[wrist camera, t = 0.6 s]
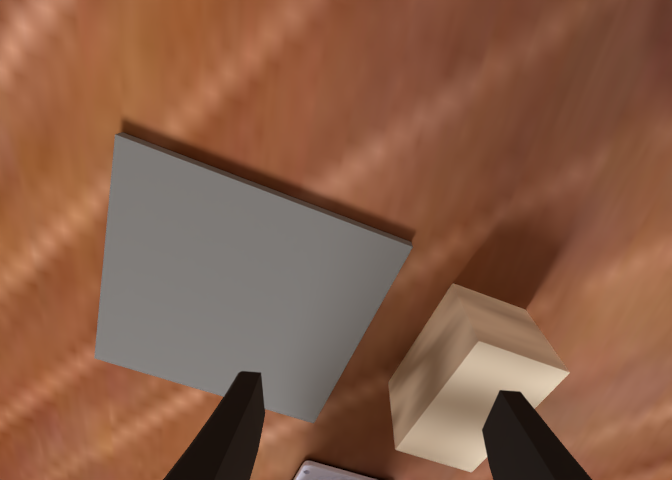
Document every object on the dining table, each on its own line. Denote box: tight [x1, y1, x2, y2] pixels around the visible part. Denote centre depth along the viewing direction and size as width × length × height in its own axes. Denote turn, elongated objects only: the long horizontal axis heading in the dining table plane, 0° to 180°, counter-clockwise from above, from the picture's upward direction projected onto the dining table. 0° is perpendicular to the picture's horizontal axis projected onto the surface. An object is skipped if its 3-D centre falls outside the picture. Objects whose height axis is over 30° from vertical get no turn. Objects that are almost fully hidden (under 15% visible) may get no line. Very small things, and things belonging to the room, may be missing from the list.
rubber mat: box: [94, 132, 413, 423], centre depth 22 cm, size 16×16×1 cm
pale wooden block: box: [388, 283, 570, 472], centre depth 21 cm, size 9×5×5 cm, turn 159°
